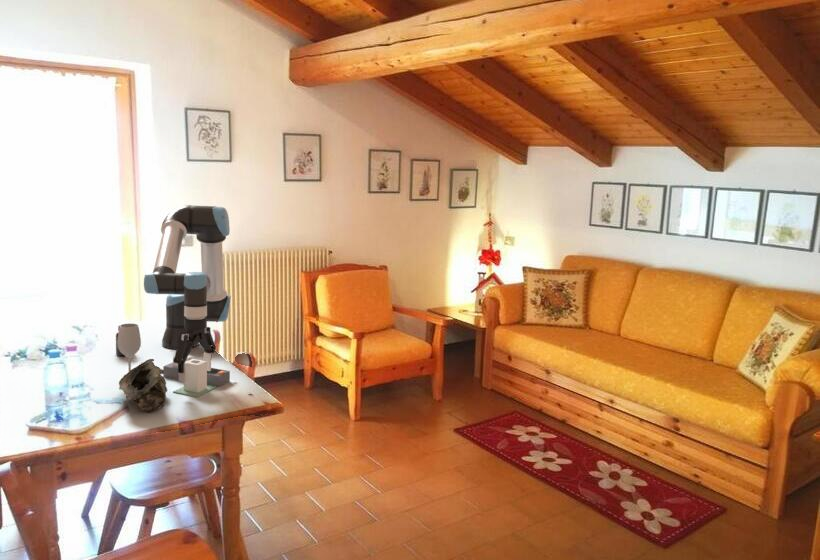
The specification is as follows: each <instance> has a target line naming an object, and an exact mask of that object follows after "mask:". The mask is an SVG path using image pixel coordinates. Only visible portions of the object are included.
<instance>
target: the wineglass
mask: <svg viewBox="0 0 820 560" xmlns="http://www.w3.org/2000/svg"><path fill="white" fill-rule="evenodd" d="M119 326H120V328H119V331H118V332H119V333H118V332H117V333H118V349H119V351H120V352H121V353H122V354H124V355H125V356H126V358H127V361H128V363H127V364H128V372H130V370H132V363H131V362H132V357H134V356H135V355H136V354H137V353H138V352H139V351H140V348H141V347H142V346H141V344H142V340H141V332H140V328H139V324H137V323H132V322H131V323H123V324H120V325H119Z"/></svg>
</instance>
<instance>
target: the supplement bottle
mask: <svg viewBox="0 0 820 560" xmlns="http://www.w3.org/2000/svg"><path fill="white" fill-rule="evenodd" d="M117 327H118V329H117V331H118V332H116V334H115V355H116V356H118V357H121V358H125V357H126V356H125V355H124V354H122V353H121V352H120V351H119V349H118V333H119V328H120V325H118V326H117ZM126 358H127V357H126Z"/></svg>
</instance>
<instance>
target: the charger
mask: <svg viewBox="0 0 820 560" xmlns="http://www.w3.org/2000/svg"><path fill="white" fill-rule="evenodd" d="M185 363H187V382H183V387H184V390H187V391H192V392H197V393H198V392H200V391H202V390H204V389H206V388H207V361H203V360H201V359H196V358H193V359H191V360H189V361H186V362H185Z"/></svg>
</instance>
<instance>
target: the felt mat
mask: <svg viewBox="0 0 820 560" xmlns="http://www.w3.org/2000/svg"><path fill="white" fill-rule="evenodd" d="M217 388H218V387H216V386H210V385H207V388H206V389H204V390H202V391H200V392H198V393H197V392H192V391H187V390H184V386H181V388H180V387H179V388H178V389H175V390H173V391H172V393H175V394H178V395H179V394H180V395H182V396H183V395H184V396H189V397H192V398H193V397H194V398H198V397H201V396H203V395H205V394H207V393H209V392H211V391H213V390H215V389H217Z"/></svg>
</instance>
